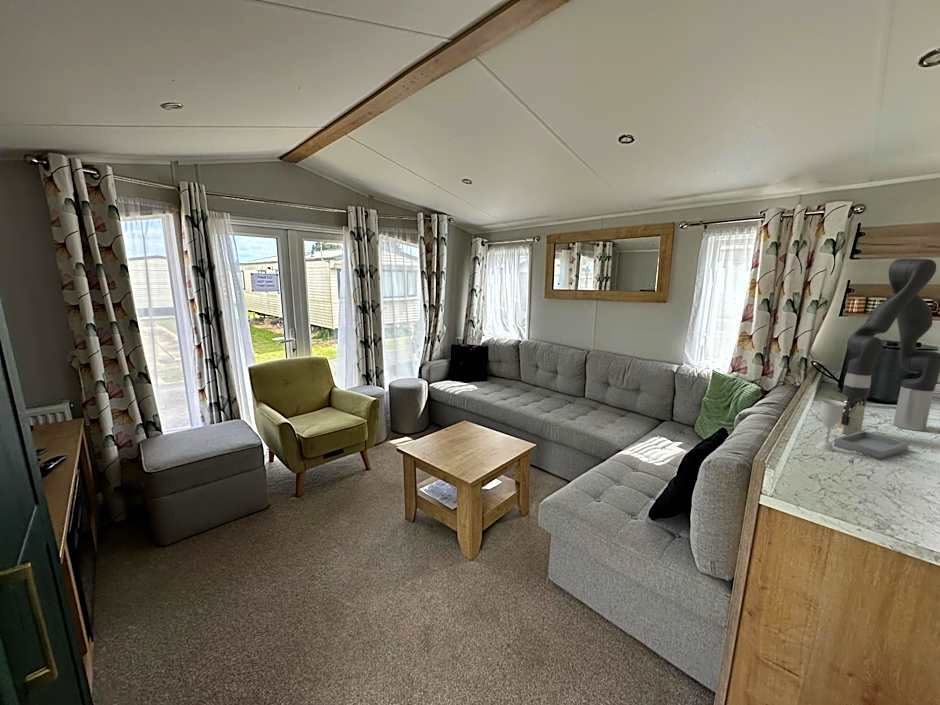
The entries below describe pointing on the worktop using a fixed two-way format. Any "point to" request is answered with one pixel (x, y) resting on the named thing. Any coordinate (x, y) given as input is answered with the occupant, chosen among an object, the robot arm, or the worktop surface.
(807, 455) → the worktop surface
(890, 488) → the worktop surface
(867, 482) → the worktop surface
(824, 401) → the chalice
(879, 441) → the tray
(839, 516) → the worktop surface
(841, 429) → the skincare box
